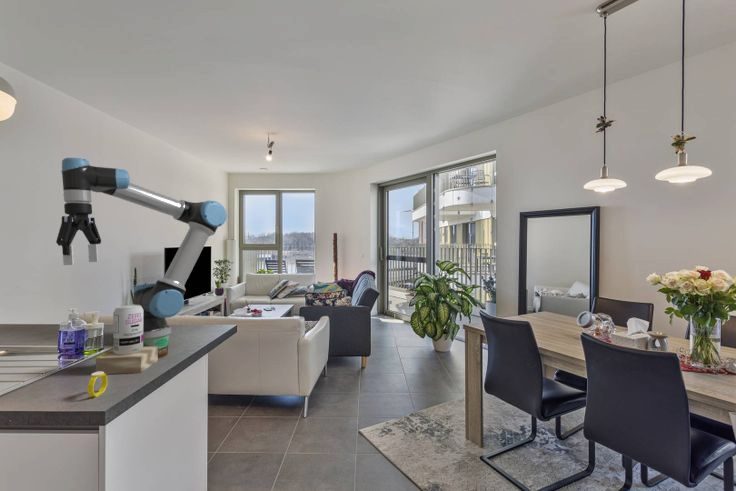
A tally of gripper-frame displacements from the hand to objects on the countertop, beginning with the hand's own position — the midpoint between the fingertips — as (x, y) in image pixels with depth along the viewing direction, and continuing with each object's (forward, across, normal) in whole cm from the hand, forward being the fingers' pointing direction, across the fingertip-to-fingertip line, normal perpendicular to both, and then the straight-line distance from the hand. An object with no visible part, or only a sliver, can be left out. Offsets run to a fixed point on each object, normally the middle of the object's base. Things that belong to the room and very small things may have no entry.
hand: (82, 263), depth 126 cm
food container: (+35, +2, +24) cm, 43 cm away
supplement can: (+29, +13, +20) cm, 37 cm away
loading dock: (+34, +13, +19) cm, 41 cm away
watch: (+34, +35, +22) cm, 53 cm away
